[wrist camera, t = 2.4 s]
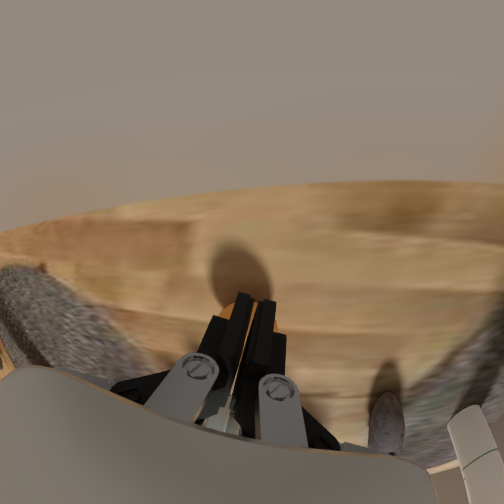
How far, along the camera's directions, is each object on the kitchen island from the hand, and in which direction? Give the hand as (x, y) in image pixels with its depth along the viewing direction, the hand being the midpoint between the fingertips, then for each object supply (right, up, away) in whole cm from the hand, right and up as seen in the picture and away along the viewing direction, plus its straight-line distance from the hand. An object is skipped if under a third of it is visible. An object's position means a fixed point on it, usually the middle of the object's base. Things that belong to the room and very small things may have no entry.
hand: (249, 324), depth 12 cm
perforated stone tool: (+19, -20, +21) cm, 35 cm away
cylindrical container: (+38, -27, +21) cm, 51 cm away
